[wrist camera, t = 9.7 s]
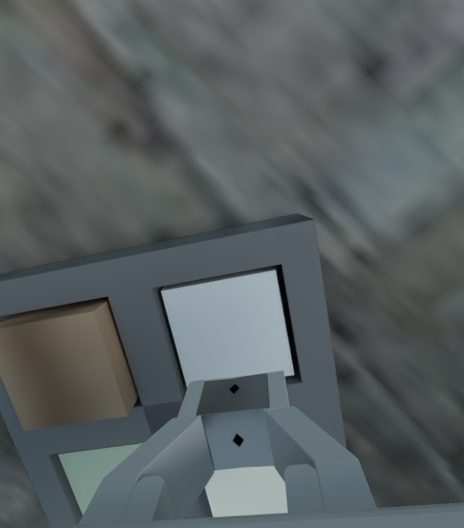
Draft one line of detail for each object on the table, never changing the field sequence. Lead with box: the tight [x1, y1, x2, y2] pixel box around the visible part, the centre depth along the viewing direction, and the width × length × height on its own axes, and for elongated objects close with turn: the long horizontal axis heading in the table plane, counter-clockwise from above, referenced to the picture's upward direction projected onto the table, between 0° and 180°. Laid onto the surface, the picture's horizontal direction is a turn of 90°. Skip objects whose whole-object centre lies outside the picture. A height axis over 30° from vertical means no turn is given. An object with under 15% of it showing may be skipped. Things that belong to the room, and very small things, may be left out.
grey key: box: [161, 266, 294, 388], centre depth 16 cm, size 6×6×2 cm
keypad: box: [0, 214, 347, 527], centre depth 17 cm, size 18×18×4 cm
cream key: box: [205, 466, 288, 517], centre depth 16 cm, size 6×6×2 cm
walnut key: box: [0, 296, 139, 431], centre depth 15 cm, size 6×6×2 cm
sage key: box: [58, 442, 144, 515], centre depth 18 cm, size 6×6×2 cm
